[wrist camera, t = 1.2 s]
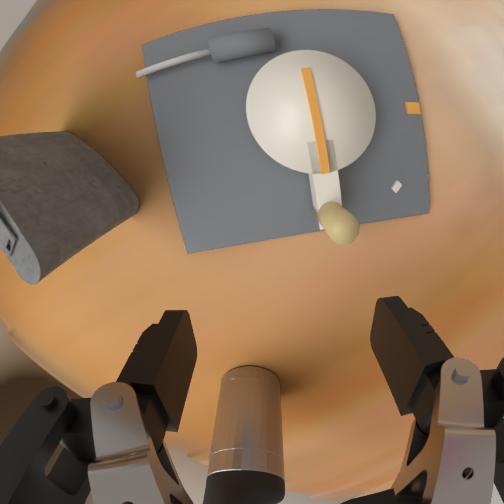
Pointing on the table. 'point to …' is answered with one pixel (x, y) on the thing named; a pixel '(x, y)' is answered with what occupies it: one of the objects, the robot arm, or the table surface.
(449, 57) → the table surface
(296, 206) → the panel
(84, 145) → the hip flask
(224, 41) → the screwdriver
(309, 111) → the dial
